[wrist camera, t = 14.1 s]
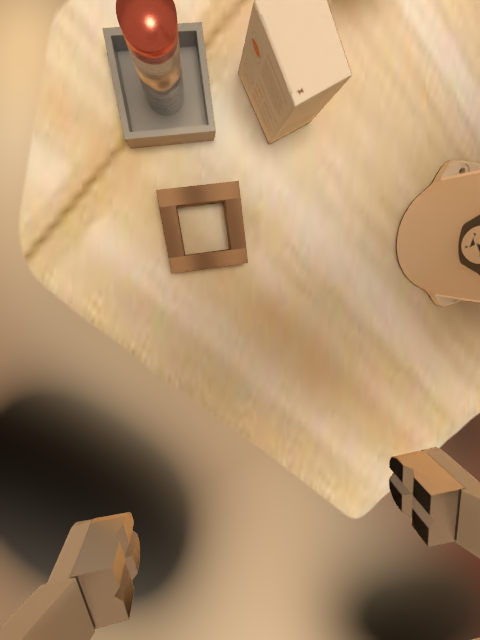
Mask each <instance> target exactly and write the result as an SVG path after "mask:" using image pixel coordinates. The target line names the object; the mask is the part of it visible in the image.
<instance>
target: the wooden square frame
mask: <svg viewBox="0 0 480 640" xmlns="http://www.w3.org/2000/svg"><path fill="white" fill-rule="evenodd" d="M156 191H157V197H158V202H159V208H160V213H161V219H162V224H163V229H164V235H165V240H166V246H167V251H168V257H169V262H170V268H171V273H179V272H186V271H194V270H201V269H208V268H215V267H223V266H230V265H237V264H244V263H248V259H247V250H246V241H245V232H244V224H243V215H242V206H241V197H240V189H239V181H234V182H225V183H216V184H207V185H198V186H189V187H180V188H171V189H162V190H156ZM221 202H223V204H224V212H225V219H226V227H227V235H228V243H229V249H227V250H220V251H212V252H205V253H197V254H189V255H185V252H184V246H183V240H182V234H181V228H180V222H179V216H178V211H177V208H179V207H187V206H196V205H204V204H213V203H221Z"/></svg>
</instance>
